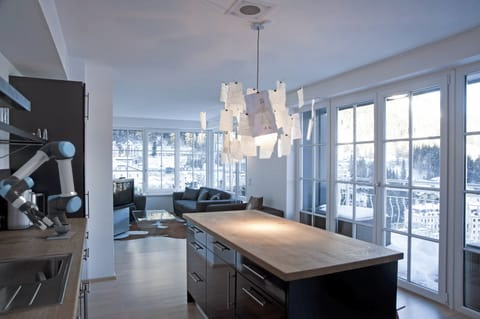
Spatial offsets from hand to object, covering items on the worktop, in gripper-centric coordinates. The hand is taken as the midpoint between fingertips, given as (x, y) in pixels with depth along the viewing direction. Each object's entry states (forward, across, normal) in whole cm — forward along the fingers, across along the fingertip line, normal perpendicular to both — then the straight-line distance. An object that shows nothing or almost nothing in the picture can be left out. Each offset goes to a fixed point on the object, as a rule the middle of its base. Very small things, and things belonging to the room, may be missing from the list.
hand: (48, 226), depth 217 cm
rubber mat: (+10, 0, +1) cm, 10 cm away
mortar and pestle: (+10, 0, +1) cm, 10 cm away
